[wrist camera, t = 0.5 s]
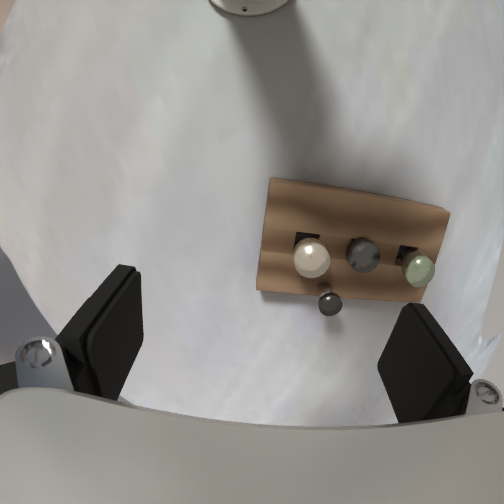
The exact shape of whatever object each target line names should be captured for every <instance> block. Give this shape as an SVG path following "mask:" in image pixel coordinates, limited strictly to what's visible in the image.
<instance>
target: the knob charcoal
mask: <svg viewBox="0 0 504 504" xmlns="http://www.w3.org/2000/svg"><path fill="white" fill-rule="evenodd" d="M346 257H347V259H348V261H349V263H350V265H351V266H352V268H353V269H354V270H355V271H356V272H358V273H368V272H370V271H372V270H373V269H375V268H376V266H377V265H378V263H379V261H380V252H379V250H378V248H377V247H376V246H375V245H374V243H373V242H372V241H371V240H370V239H368V238H366V237H358V238H356V239H353V238H352V240H351V242H350V243H349V244H348V246H347V249H346Z"/></svg>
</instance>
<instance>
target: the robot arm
mask: <svg viewBox="0 0 504 504" xmlns="http://www.w3.org/2000/svg"><path fill="white" fill-rule="evenodd" d="M210 1H211V2H212V3H213V4H214V5H215V6H217V7H219V8H220V9H222V10H224V11H226V12H228V13H232V14H236V15H243V16H256V15H262V14H266V13H269V12H272V11H274V10H276V9H278V8H280V7H281V6H283V5H284V4H285V3H286V2H287V1H288V0H210ZM243 10H247V11H245V12H244V11H243ZM143 337H144V333H143V317H142V296H141V274H140V272H137V271H136V268H135V267H133V266H127V265H121V264H119V265H118V266H117V267H116V268H115V269H114V270H113V271H112V272H111V274H110V275H109V276H108V277H107V278H106V279H105V280H104V282H103V283H102V284H101V285H100V286H99V287H98V289H97V290H96V291H95V292H94V293H93V294H92V296H91V297H89V298H88V299H87V300H86V301H85V303H84V304H83V305H82V306H81V307H80V309H79V310H78V311H77V312H76V314H75V315H74V316H73V317H72V318H71V320H70V321H69V322H68V323H67V325H66V326H65V327H64V328H63V330H62V331H61V332H60V334H59V335H58V336H57V337H56V339H55V340H54V339H51V338H48V337H34V338H31V339H28V340H26V341H24V342H23V343H22V344H21V345H20V346H19V347H18V348H17V350H16V353H15V361H14V362H10V363H6V364H3V365H0V504H504V408H503V407H502V402H503V400H502V395H501V393H500V391H499V389H498V388H497V387H496V386H495V385H494V384H493V383H491V382H489V381H487V380H484V379H477V380H475V381H473V382H472V384H470V383H469V380H470V378H471V377H472V375H473V374H474V373H473V372H472V370H471V369H470V367H469V366H468V364H467V363H466V361H465V360H464V358H463V357H462V356H461V354H460V353H459V351H458V350H457V348H456V347H455V346H454V344H453V343H452V341H451V340H450V339H449V337H448V336H447V335H446V333H445V332H444V330H443V329H442V328H441V326H440V325H439V324H438V322H437V321H436V320H435V318H434V317H433V316H432V315H431V313H430V312H429V311H428V309H427V308H426V307H425V306H424V305H423V304H419V303H408V304H407V305H406V306H404V307H403V308H402V310H401V312H400V315H399V317H398V319H397V322H396V324H395V326H394V329H393V331H392V333H391V335H390V338H389V340H388V342H387V344H386V346H385V348H384V350H383V352H382V355H381V357H380V359H379V361H378V366H377V367H378V371H379V374H380V376H381V379H382V381H383V384H384V386H385V389H386V391H387V394H388V396H389V399H390V401H391V404H392V407H393V409H394V412H395V414H396V417H397V420H398V422H399V423H397V424H385V425H369V426H345V427H303V426H279V425H264V424H251V423H241V422H231V421H223V420H215V419H208V418H201V417H194V416H188V415H182V414H177V413H171V412H166V411H161V410H155V409H150V408H146V407H141V406H136V405H132V404H127V403H123V402H119V401H117V399H118V397H119V394H120V392H121V390H122V388H123V385H124V383H125V381H126V378H127V376H128V374H129V372H130V370H131V367H132V365H133V363H134V361H135V358H136V356H137V354H138V352H139V350H140V348H141V345H142V343H143Z"/></svg>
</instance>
